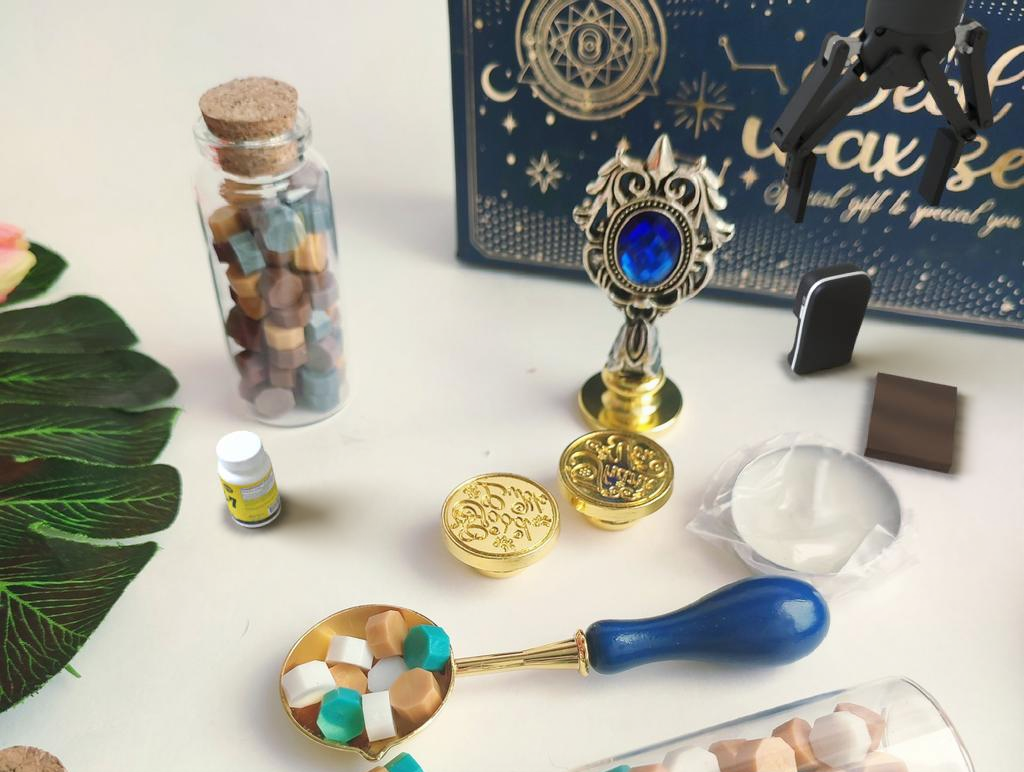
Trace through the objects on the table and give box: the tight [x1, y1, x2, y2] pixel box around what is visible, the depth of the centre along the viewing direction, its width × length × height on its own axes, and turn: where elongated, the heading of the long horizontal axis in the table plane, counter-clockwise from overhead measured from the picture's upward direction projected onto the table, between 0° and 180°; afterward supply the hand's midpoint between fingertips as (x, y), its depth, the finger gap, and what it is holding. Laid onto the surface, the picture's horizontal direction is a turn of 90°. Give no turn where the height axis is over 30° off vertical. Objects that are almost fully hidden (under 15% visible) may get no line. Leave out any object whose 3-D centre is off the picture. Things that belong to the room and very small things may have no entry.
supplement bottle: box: [216, 430, 282, 528], centre depth 98 cm, size 5×5×8 cm
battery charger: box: [786, 262, 873, 375], centre depth 111 cm, size 7×4×11 cm, turn 108°
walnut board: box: [863, 371, 958, 474], centre depth 108 cm, size 12×8×1 cm, turn 162°
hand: (861, 207), depth 101 cm, fingers open, 13 cm apart
